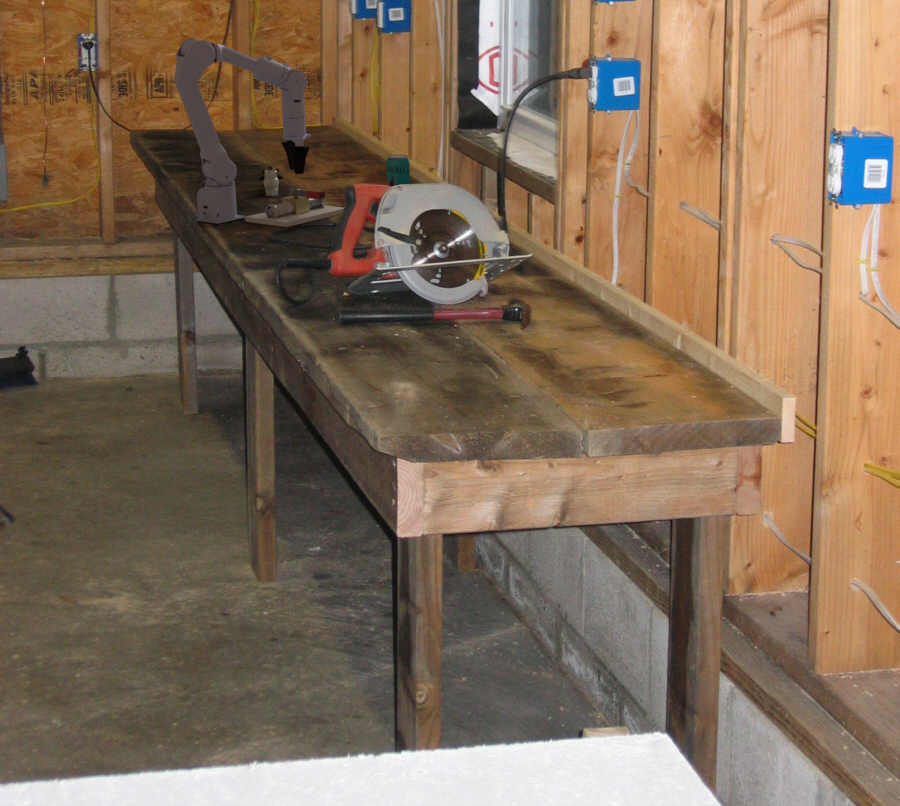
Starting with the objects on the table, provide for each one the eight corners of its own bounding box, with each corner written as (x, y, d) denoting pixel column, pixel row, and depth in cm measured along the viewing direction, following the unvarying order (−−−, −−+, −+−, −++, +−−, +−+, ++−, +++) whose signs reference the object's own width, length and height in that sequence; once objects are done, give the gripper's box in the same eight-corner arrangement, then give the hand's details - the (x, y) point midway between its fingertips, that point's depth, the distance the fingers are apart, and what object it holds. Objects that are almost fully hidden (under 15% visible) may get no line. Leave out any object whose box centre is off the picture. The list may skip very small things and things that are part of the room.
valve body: (278, 220, 347) (277, 202, 346) (264, 218, 350) (263, 200, 349) (327, 209, 361) (326, 191, 359) (313, 207, 364) (312, 189, 362)
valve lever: (288, 195, 354) (287, 188, 353) (295, 194, 356) (294, 187, 355) (318, 199, 348) (318, 192, 347) (325, 198, 350) (325, 190, 349)
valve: (284, 195, 387) (283, 188, 398) (283, 171, 385) (281, 165, 396) (260, 196, 386) (259, 189, 398) (258, 172, 384) (257, 166, 396)
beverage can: (384, 216, 354) (381, 155, 350) (404, 213, 357) (402, 153, 352) (395, 219, 350) (392, 158, 345) (415, 216, 352) (413, 156, 348)
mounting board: (286, 227, 343) (286, 222, 343) (245, 221, 352) (245, 216, 351) (346, 212, 360) (346, 208, 360) (306, 207, 368) (305, 203, 368)
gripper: (314, 119, 351) (317, 174, 355) (305, 113, 364) (307, 166, 368) (286, 121, 349) (289, 176, 353) (277, 114, 362) (280, 168, 366)
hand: (296, 171), depth 360 cm, fingers open, 7 cm apart
